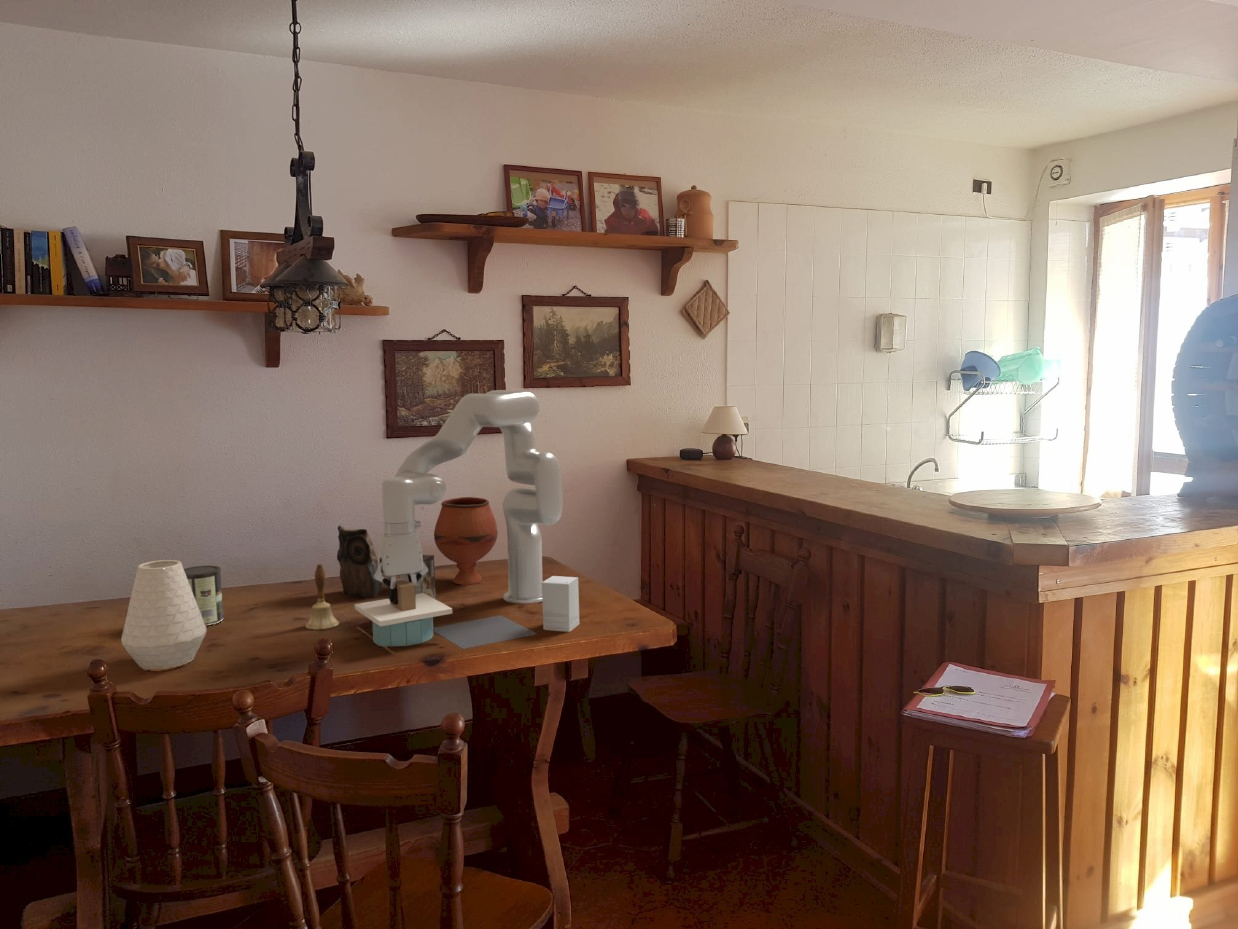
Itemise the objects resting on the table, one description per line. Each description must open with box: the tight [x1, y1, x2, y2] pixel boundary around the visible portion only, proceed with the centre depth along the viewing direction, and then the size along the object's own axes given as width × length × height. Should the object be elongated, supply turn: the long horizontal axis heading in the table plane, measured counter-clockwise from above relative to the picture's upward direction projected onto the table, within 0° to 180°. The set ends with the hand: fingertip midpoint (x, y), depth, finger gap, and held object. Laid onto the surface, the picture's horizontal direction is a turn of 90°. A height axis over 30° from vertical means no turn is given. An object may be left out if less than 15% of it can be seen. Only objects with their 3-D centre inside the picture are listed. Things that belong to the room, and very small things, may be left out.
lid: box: [354, 578, 453, 626], centre depth 230 cm, size 18×18×7 cm
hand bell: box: [305, 563, 340, 631], centre depth 242 cm, size 8×8×16 cm
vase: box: [120, 559, 208, 669], centre depth 213 cm, size 17×17×23 cm
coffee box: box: [398, 554, 437, 600], centre depth 248 cm, size 9×6×16 cm
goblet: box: [433, 496, 499, 586], centre depth 285 cm, size 19×19×25 cm
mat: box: [433, 615, 538, 650], centre depth 235 cm, size 20×20×1 cm
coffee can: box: [183, 565, 225, 626], centre depth 245 cm, size 10×10×14 cm
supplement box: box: [542, 575, 580, 633], centre depth 238 cm, size 7×7×13 cm
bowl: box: [371, 617, 434, 648], centre depth 231 cm, size 14×14×6 cm
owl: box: [336, 524, 383, 599], centre depth 272 cm, size 13×13×20 cm
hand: (402, 601), depth 230 cm, fingers closed on lid, 3 cm apart
